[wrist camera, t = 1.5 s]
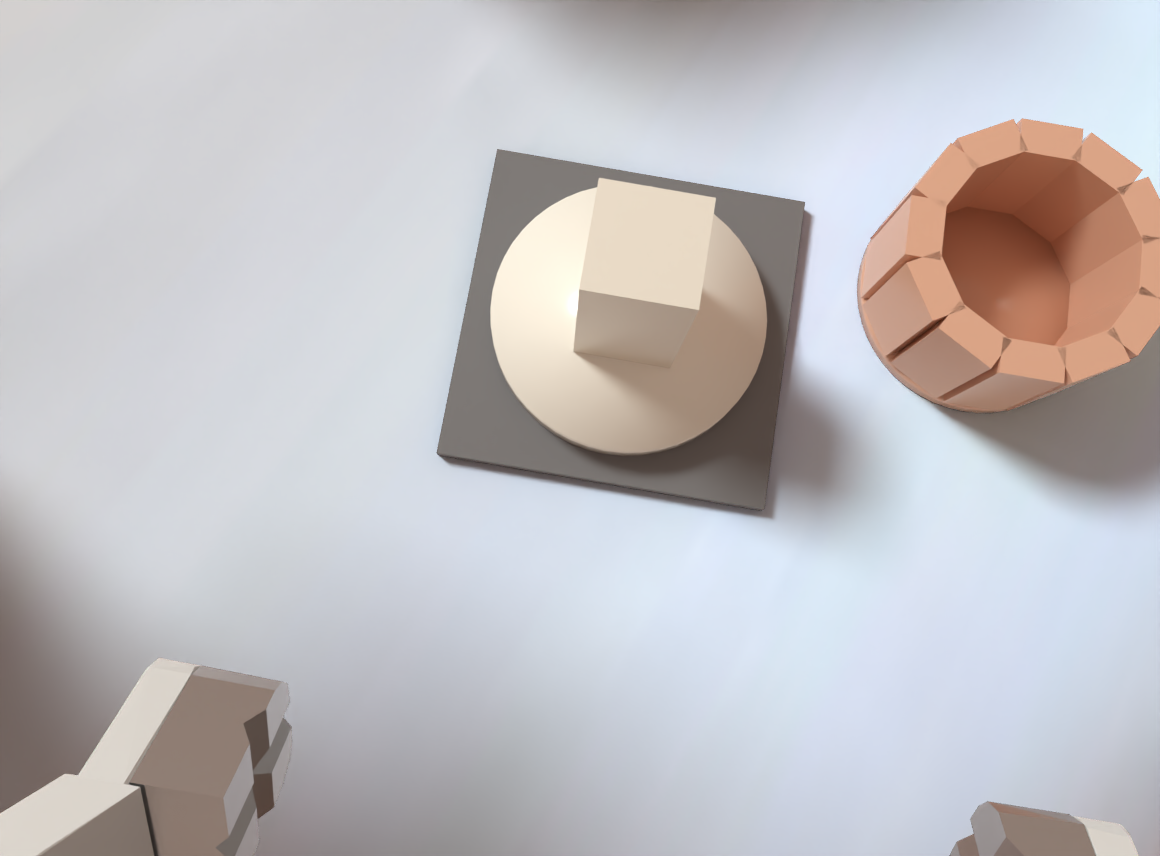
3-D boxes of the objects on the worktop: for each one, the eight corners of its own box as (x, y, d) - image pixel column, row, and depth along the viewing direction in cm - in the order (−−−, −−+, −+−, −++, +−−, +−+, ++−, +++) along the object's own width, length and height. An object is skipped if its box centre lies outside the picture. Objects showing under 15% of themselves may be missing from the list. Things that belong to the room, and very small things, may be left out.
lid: (469, 430, 35) (445, 378, 27) (518, 177, 37) (510, 60, 29) (740, 477, 35) (796, 439, 27) (776, 221, 37) (837, 116, 29)
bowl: (844, 390, 36) (894, 354, 31) (870, 171, 38) (921, 101, 33) (1080, 431, 36) (1169, 401, 31) (1095, 209, 38) (1183, 146, 33)
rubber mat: (437, 455, 35) (436, 452, 35) (498, 155, 37) (497, 149, 37) (761, 510, 35) (764, 509, 35) (801, 207, 37) (805, 201, 37)
